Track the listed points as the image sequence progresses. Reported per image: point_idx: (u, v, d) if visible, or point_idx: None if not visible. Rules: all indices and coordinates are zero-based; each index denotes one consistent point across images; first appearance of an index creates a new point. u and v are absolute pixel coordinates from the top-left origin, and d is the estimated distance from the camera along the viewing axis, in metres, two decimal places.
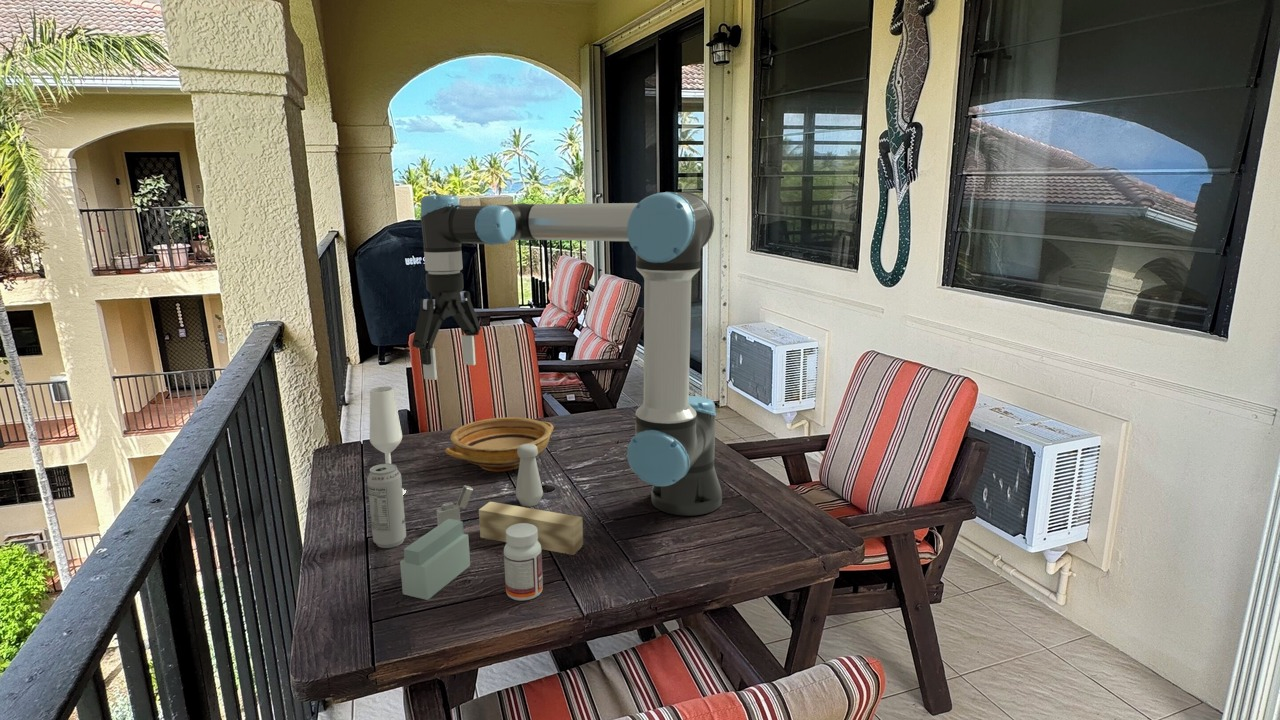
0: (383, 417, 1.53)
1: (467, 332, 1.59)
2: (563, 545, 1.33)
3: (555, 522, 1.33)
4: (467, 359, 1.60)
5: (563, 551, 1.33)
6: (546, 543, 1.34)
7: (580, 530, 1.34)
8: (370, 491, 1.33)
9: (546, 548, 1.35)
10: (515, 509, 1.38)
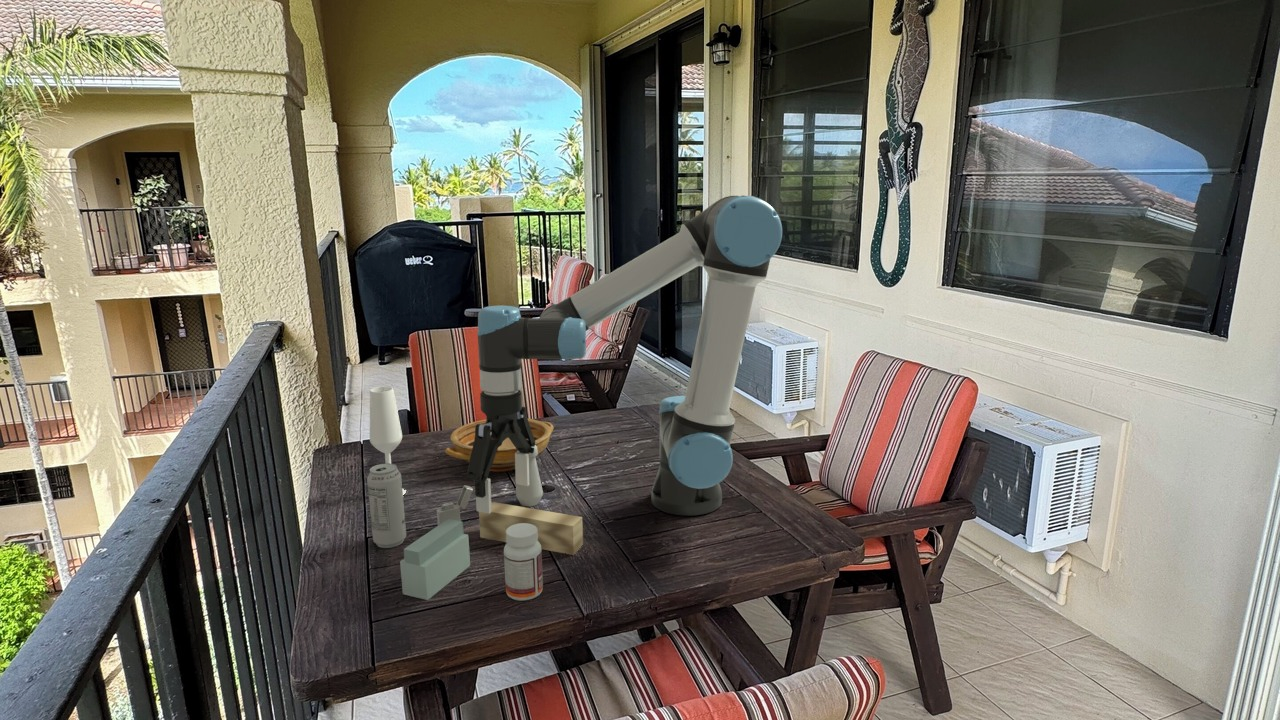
0: (383, 417, 1.53)
1: (521, 449, 1.43)
2: (563, 545, 1.33)
3: (555, 522, 1.33)
4: (520, 478, 1.43)
5: (563, 551, 1.33)
6: (546, 543, 1.34)
7: (580, 530, 1.34)
8: (370, 491, 1.33)
9: (546, 548, 1.35)
10: (515, 509, 1.38)
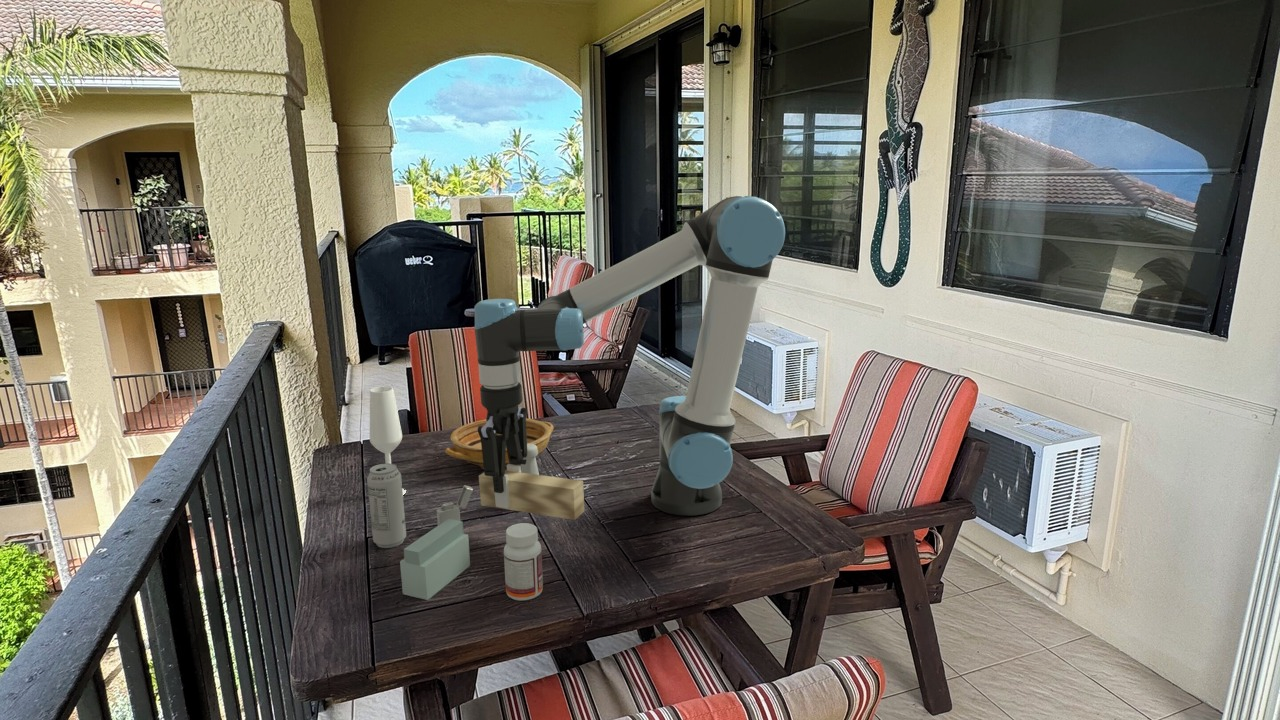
0: (383, 417, 1.53)
1: (513, 461, 1.39)
2: (564, 509, 1.31)
3: (555, 486, 1.31)
4: None
5: (564, 515, 1.32)
6: (546, 507, 1.33)
7: (580, 494, 1.33)
8: (370, 491, 1.33)
9: (547, 513, 1.33)
10: (515, 475, 1.37)
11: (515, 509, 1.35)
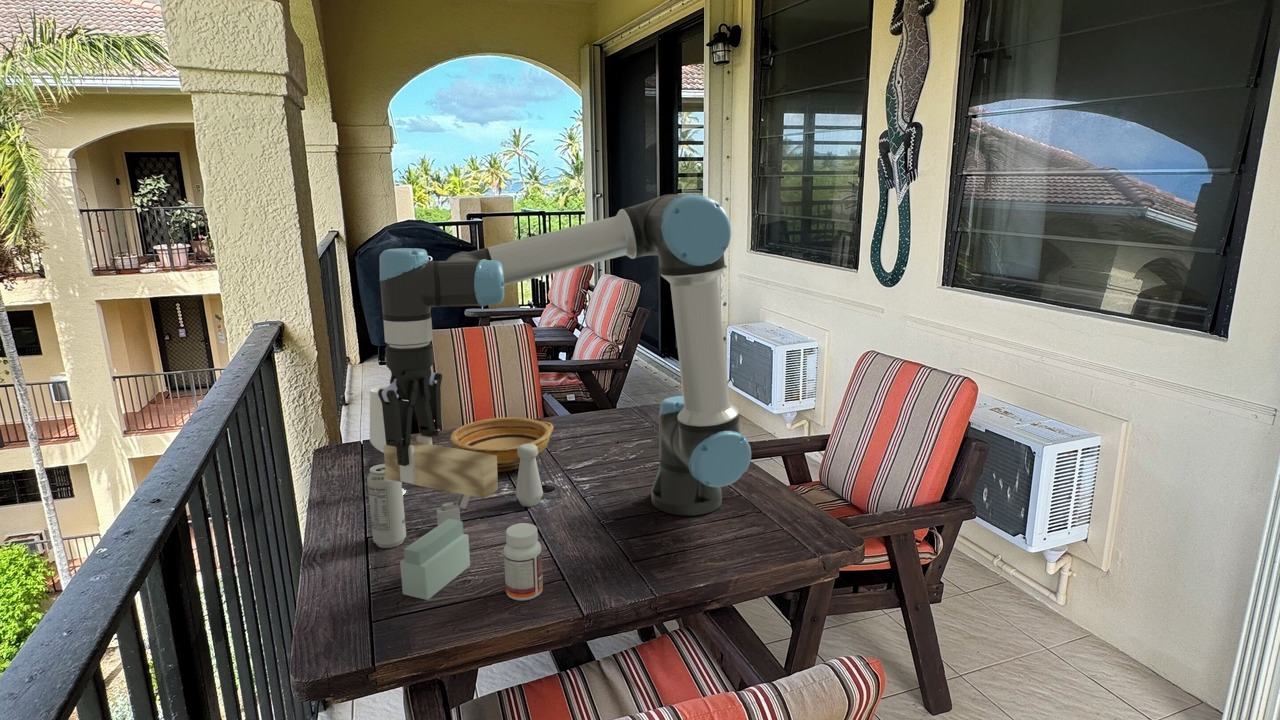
0: None
1: (424, 432, 1.25)
2: (473, 486, 1.17)
3: (464, 459, 1.17)
4: None
5: (473, 492, 1.18)
6: (454, 483, 1.19)
7: (493, 470, 1.19)
8: (370, 491, 1.33)
9: (455, 489, 1.19)
10: (424, 446, 1.23)
11: (421, 484, 1.21)
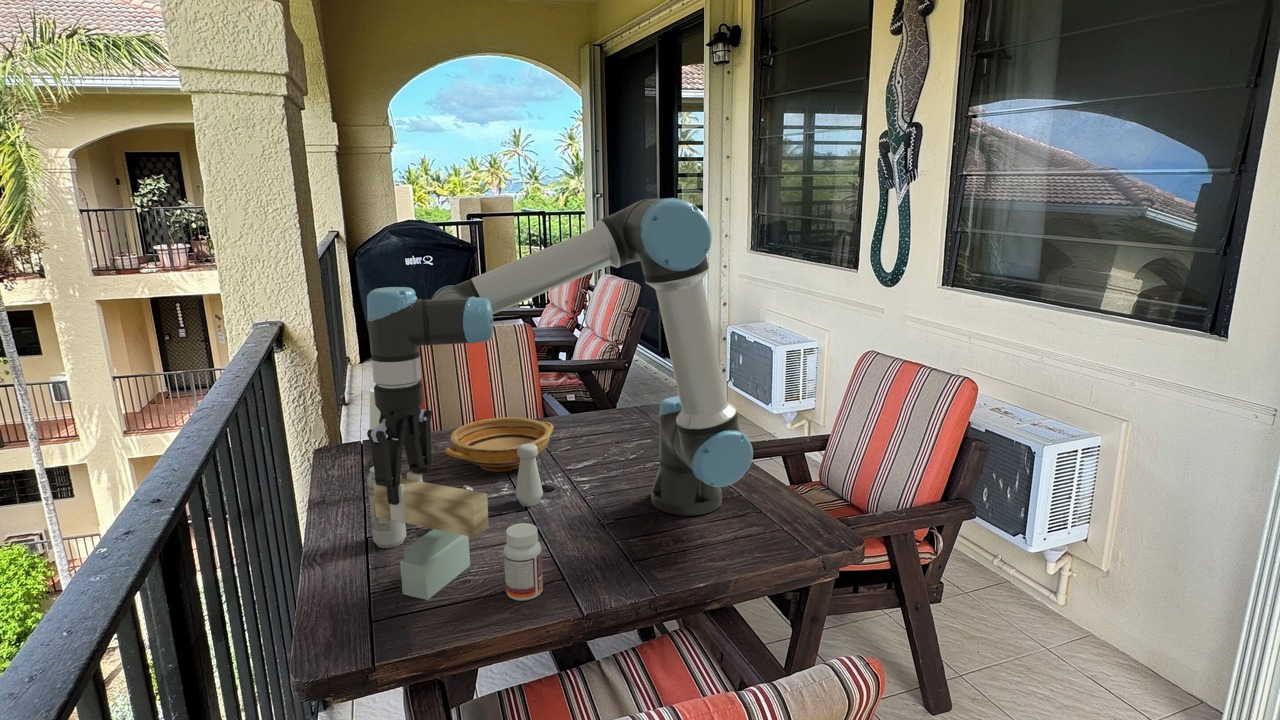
0: None
1: (414, 469, 1.25)
2: (463, 525, 1.17)
3: (454, 498, 1.17)
4: None
5: (463, 532, 1.17)
6: (445, 522, 1.18)
7: (483, 508, 1.18)
8: (370, 491, 1.33)
9: (445, 528, 1.19)
10: (414, 484, 1.22)
11: (412, 522, 1.21)
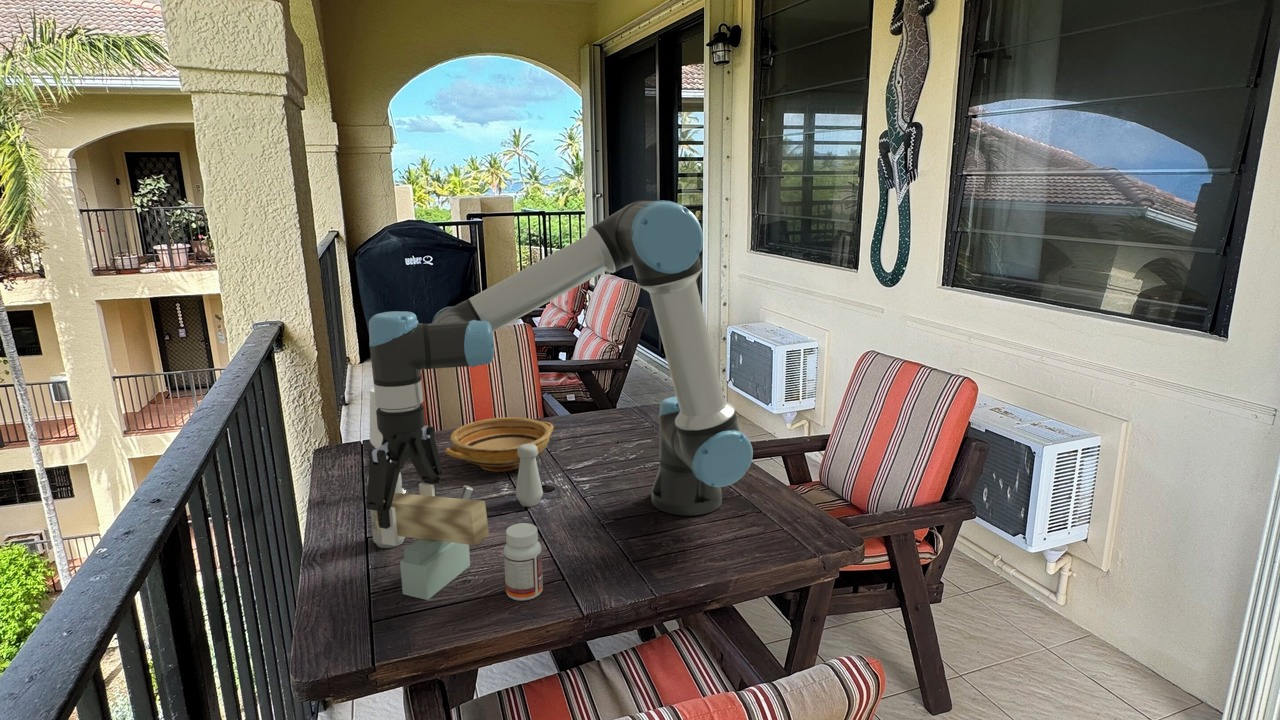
0: None
1: (426, 479, 1.28)
2: (463, 534, 1.17)
3: (452, 508, 1.17)
4: None
5: (464, 540, 1.18)
6: (445, 533, 1.19)
7: (482, 516, 1.19)
8: None
9: (446, 538, 1.19)
10: (413, 498, 1.23)
11: (413, 536, 1.22)
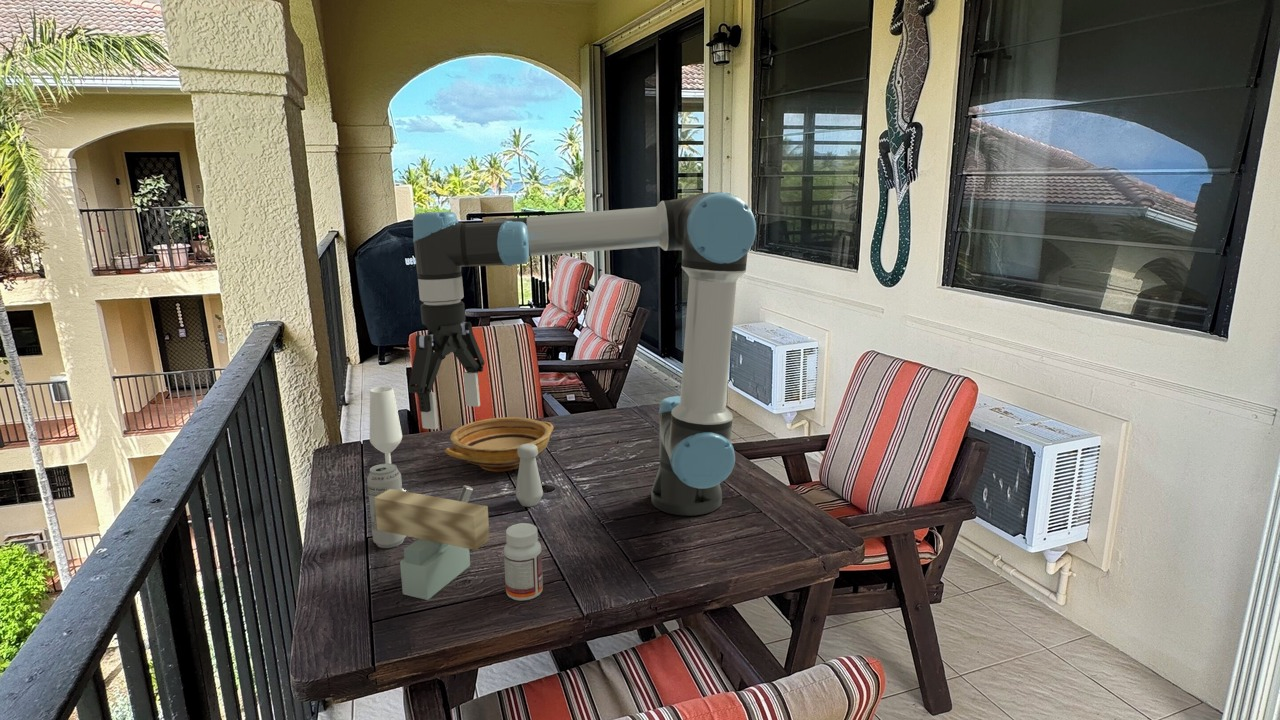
0: (383, 417, 1.53)
1: (469, 369, 1.37)
2: (464, 538, 1.18)
3: (455, 511, 1.17)
4: (470, 399, 1.38)
5: (464, 544, 1.18)
6: (446, 535, 1.19)
7: (484, 521, 1.19)
8: (370, 491, 1.33)
9: (446, 541, 1.19)
10: (415, 497, 1.23)
11: (413, 535, 1.22)
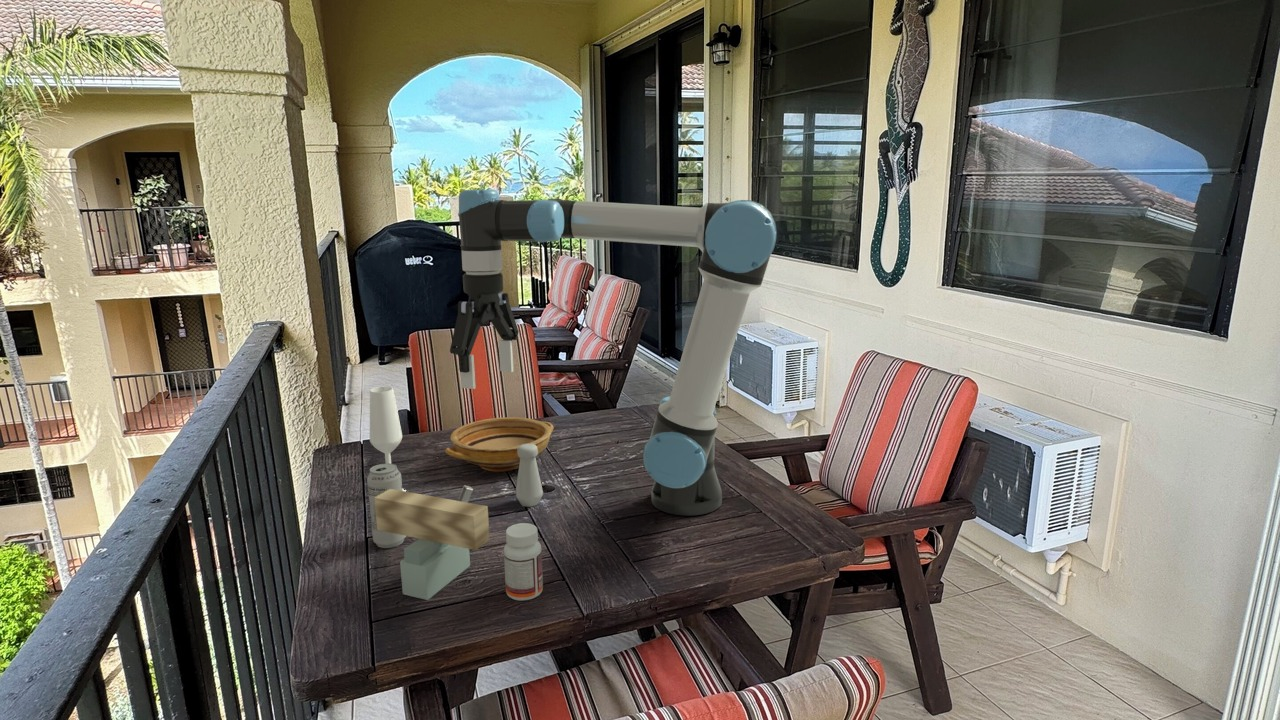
0: (383, 417, 1.53)
1: (504, 337, 1.48)
2: (464, 538, 1.18)
3: (455, 511, 1.17)
4: (504, 365, 1.49)
5: (464, 544, 1.18)
6: (446, 535, 1.19)
7: (484, 521, 1.19)
8: (370, 491, 1.33)
9: (446, 541, 1.19)
10: (415, 497, 1.23)
11: (413, 535, 1.22)
